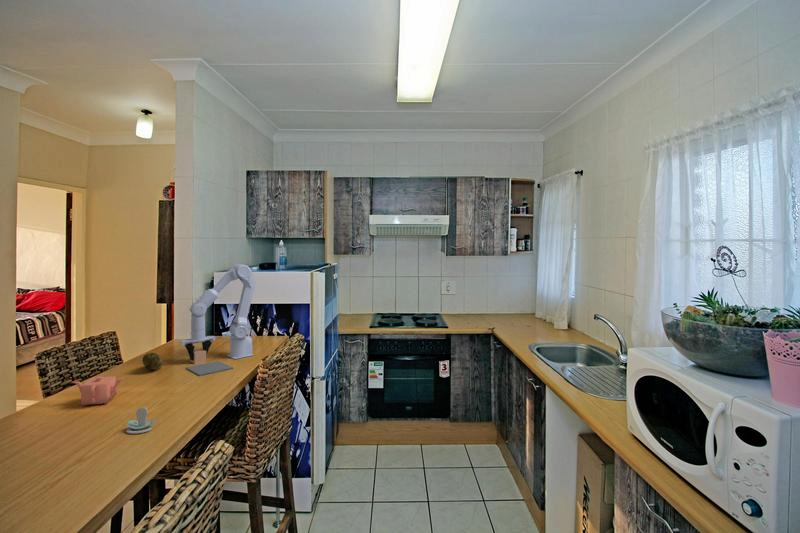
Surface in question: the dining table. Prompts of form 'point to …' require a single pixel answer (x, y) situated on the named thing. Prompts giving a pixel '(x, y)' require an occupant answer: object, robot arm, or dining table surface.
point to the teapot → (98, 390)
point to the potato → (152, 361)
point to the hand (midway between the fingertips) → (198, 358)
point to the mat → (209, 368)
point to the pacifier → (140, 422)
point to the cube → (199, 356)
